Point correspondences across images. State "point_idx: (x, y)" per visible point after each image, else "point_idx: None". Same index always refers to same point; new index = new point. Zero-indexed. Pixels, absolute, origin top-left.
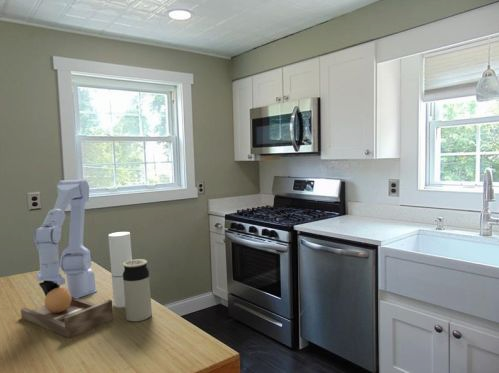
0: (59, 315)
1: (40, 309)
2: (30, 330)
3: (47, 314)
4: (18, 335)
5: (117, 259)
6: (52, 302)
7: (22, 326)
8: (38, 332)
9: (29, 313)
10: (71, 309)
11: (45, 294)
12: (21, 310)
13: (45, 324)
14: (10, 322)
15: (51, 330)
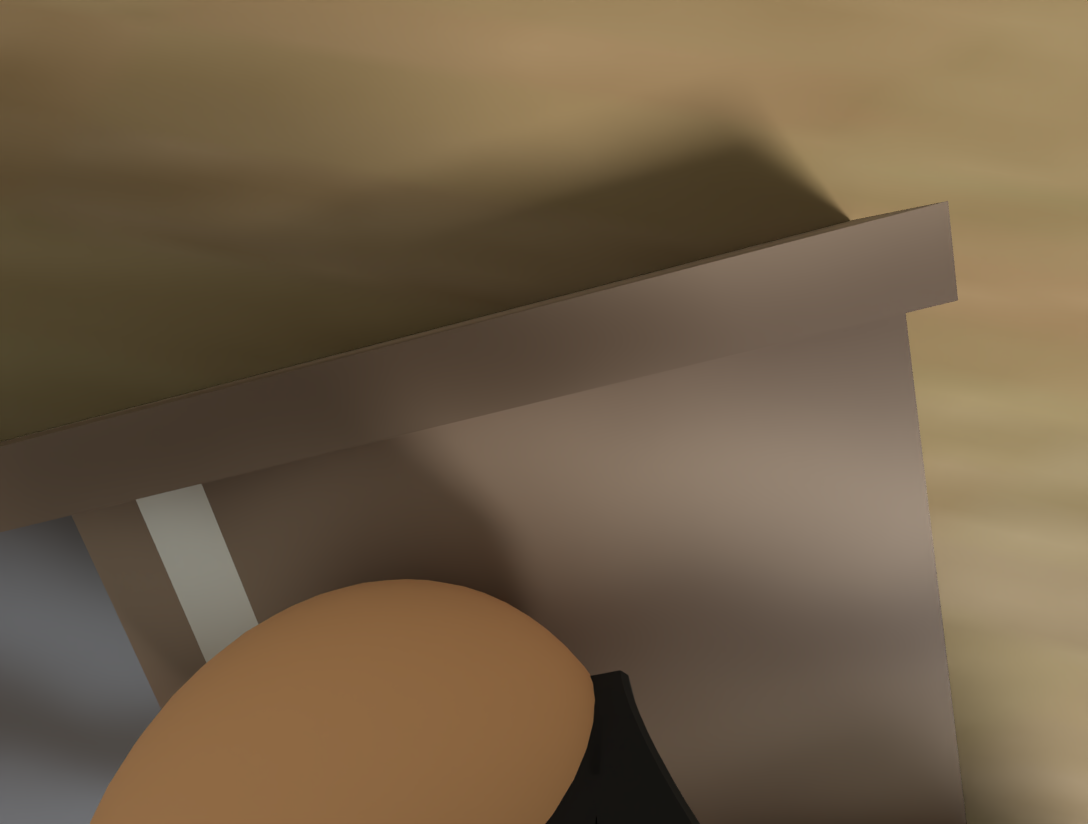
0: None
1: (793, 507)
2: (217, 228)
3: (460, 531)
4: (141, 49)
5: None
6: (130, 752)
7: (461, 164)
8: (72, 299)
9: (562, 299)
10: None
11: (646, 818)
12: (899, 212)
13: (104, 416)
14: (802, 33)
15: (14, 438)
